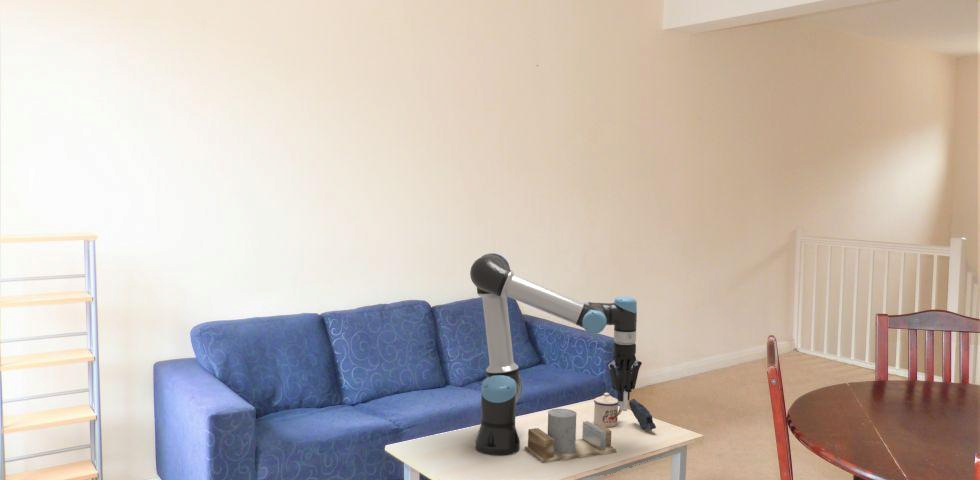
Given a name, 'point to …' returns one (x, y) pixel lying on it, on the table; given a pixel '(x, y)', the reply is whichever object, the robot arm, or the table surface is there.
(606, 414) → the teacup with lid
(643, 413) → the stone
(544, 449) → the press
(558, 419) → the gray cylinder
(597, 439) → the slide jaw
